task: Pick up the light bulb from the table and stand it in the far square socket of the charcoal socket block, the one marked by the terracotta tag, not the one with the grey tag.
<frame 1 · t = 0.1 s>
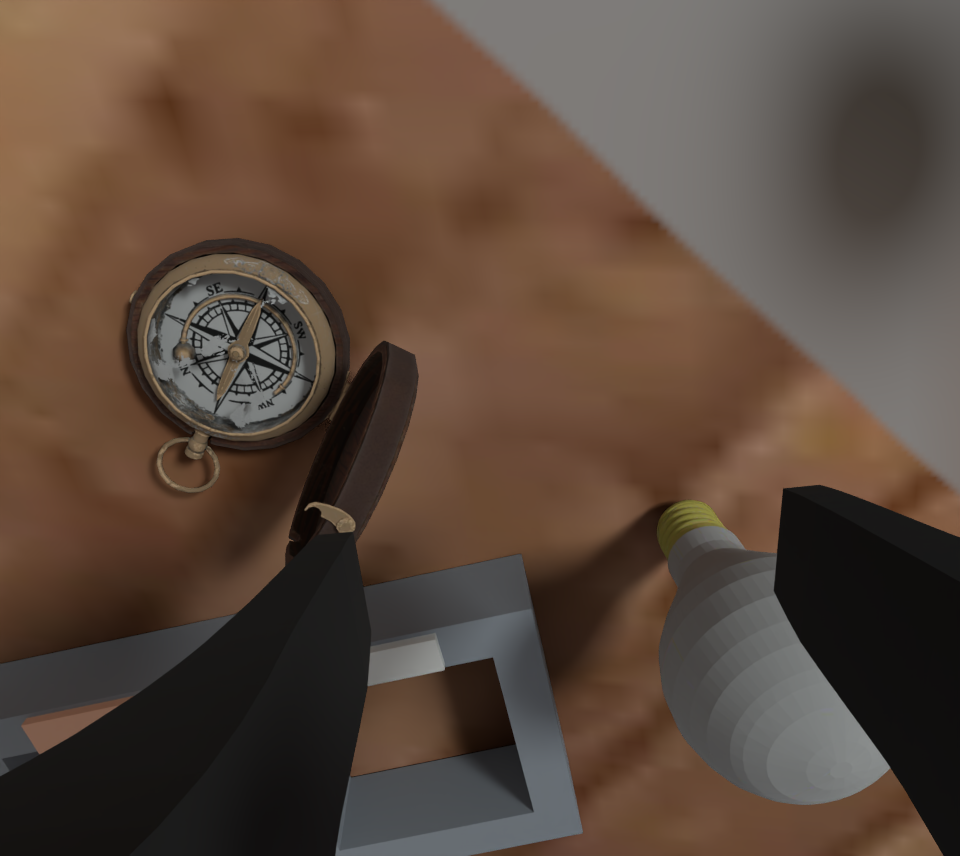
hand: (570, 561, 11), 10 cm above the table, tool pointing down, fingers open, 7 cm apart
light bulb: (678, 516, 23), on the table
compass: (261, 380, 21), on the table
socket block: (298, 717, 25), on the table
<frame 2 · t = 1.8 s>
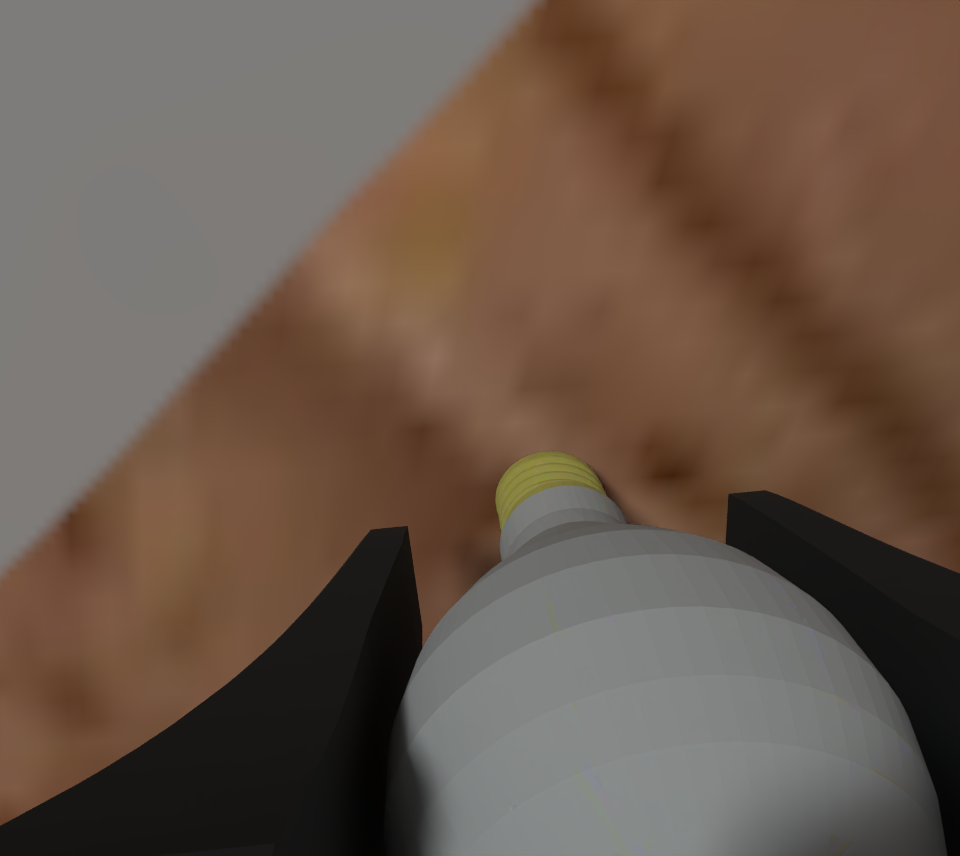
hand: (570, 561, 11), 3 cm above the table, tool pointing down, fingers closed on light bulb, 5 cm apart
light bulb: (544, 479, 14), on the table, touching gripper
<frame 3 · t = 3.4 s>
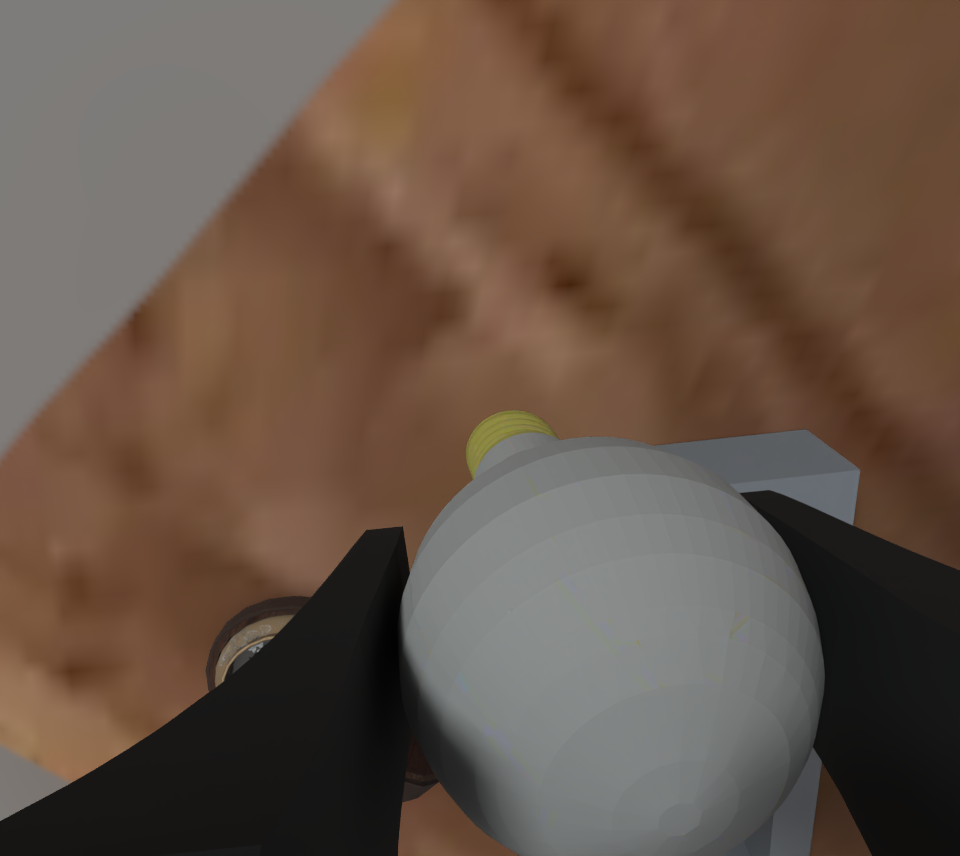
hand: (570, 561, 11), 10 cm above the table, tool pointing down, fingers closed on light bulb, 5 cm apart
light bulb: (507, 438, 16), point 5 cm above the table, touching gripper
compass: (337, 663, 24), on the table
socket block: (651, 678, 25), on the table
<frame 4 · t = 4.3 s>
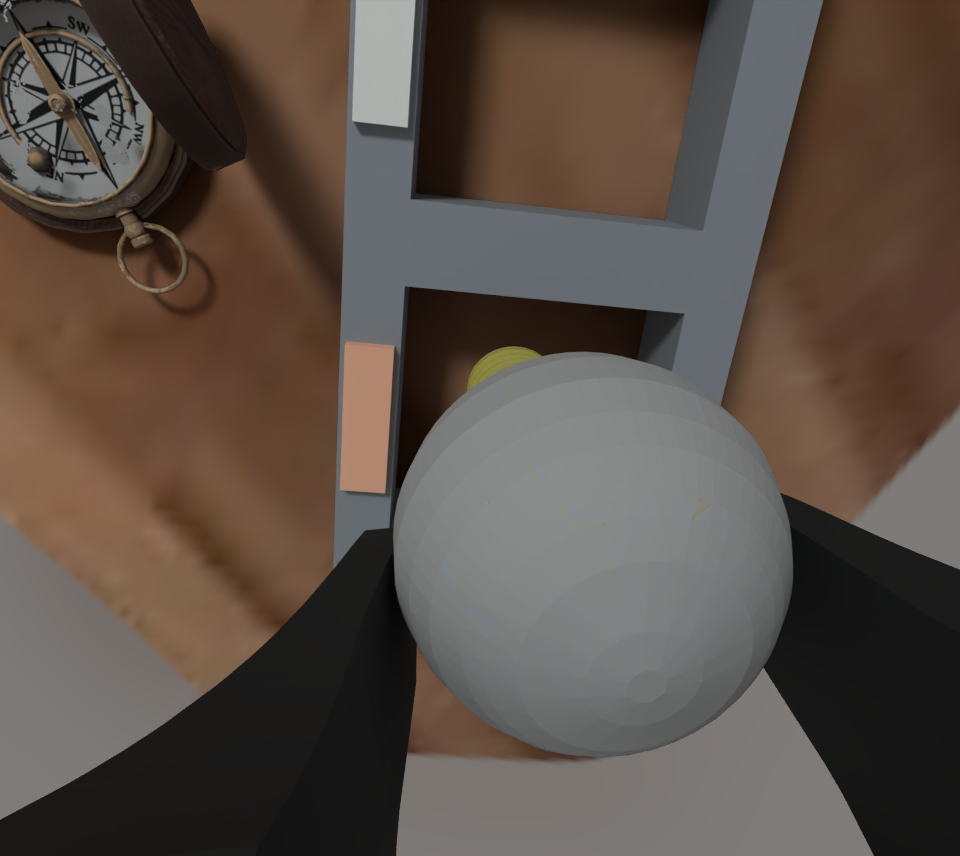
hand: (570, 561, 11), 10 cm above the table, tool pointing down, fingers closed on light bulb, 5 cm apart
light bulb: (508, 376, 16), point 4 cm above the table, touching gripper
compass: (130, 131, 18), on the table
socket block: (537, 243, 19), on the table
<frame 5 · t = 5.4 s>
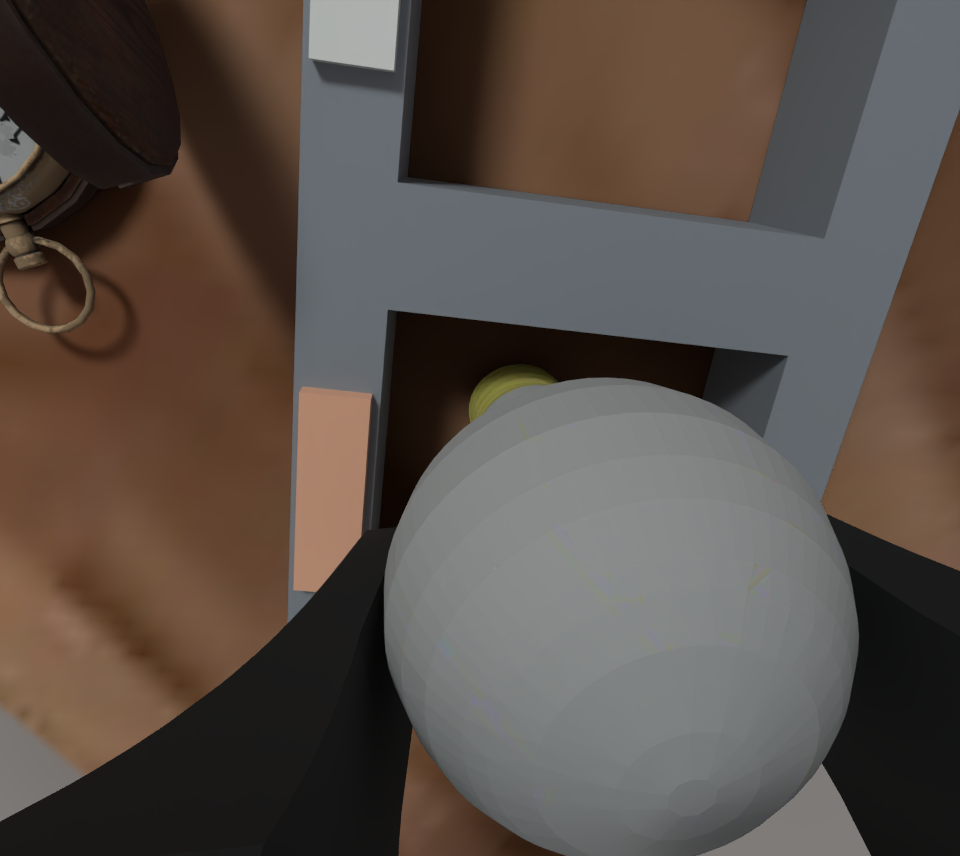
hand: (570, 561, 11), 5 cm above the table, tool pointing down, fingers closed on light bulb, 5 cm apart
light bulb: (513, 396, 15), resting in socket block, touching gripper
compass: (32, 108, 13), on the table
socket block: (573, 250, 14), on the table
when the fingers open (4 cm above the table, at t = 6.0 s): light bulb stays where it is, resting in socket block.
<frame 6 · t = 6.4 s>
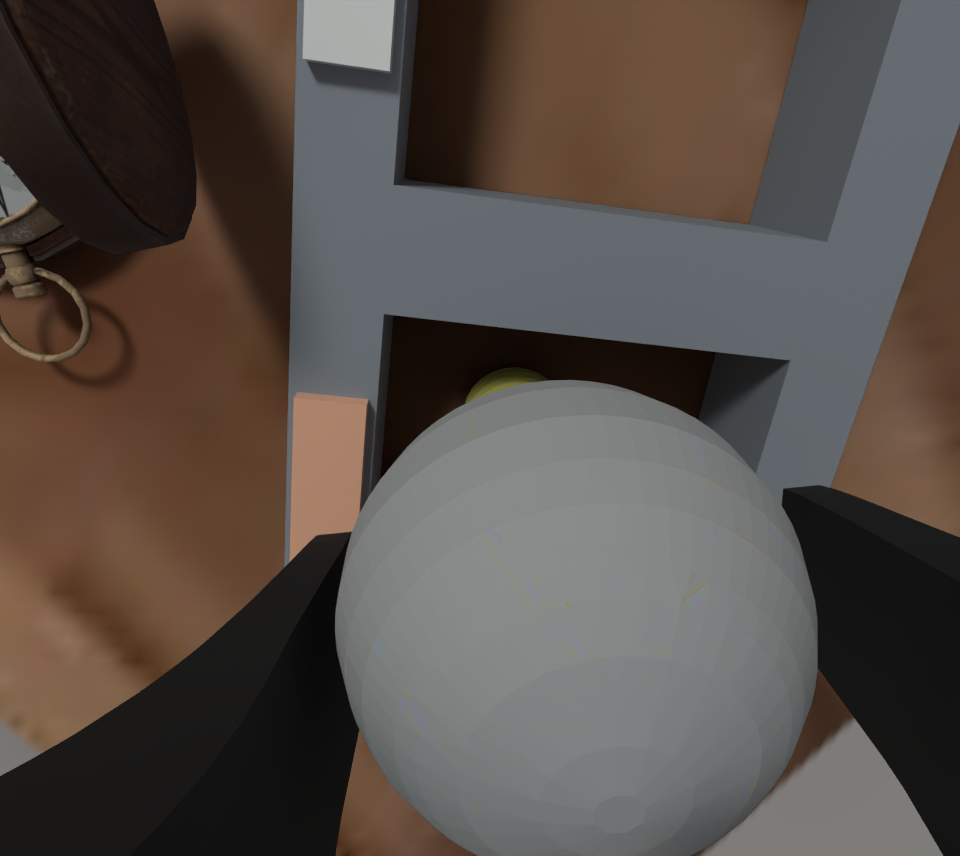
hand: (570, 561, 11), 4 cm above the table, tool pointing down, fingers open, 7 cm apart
light bulb: (512, 399, 15), resting in socket block
compass: (44, 139, 13), on the table
socket block: (572, 253, 14), on the table
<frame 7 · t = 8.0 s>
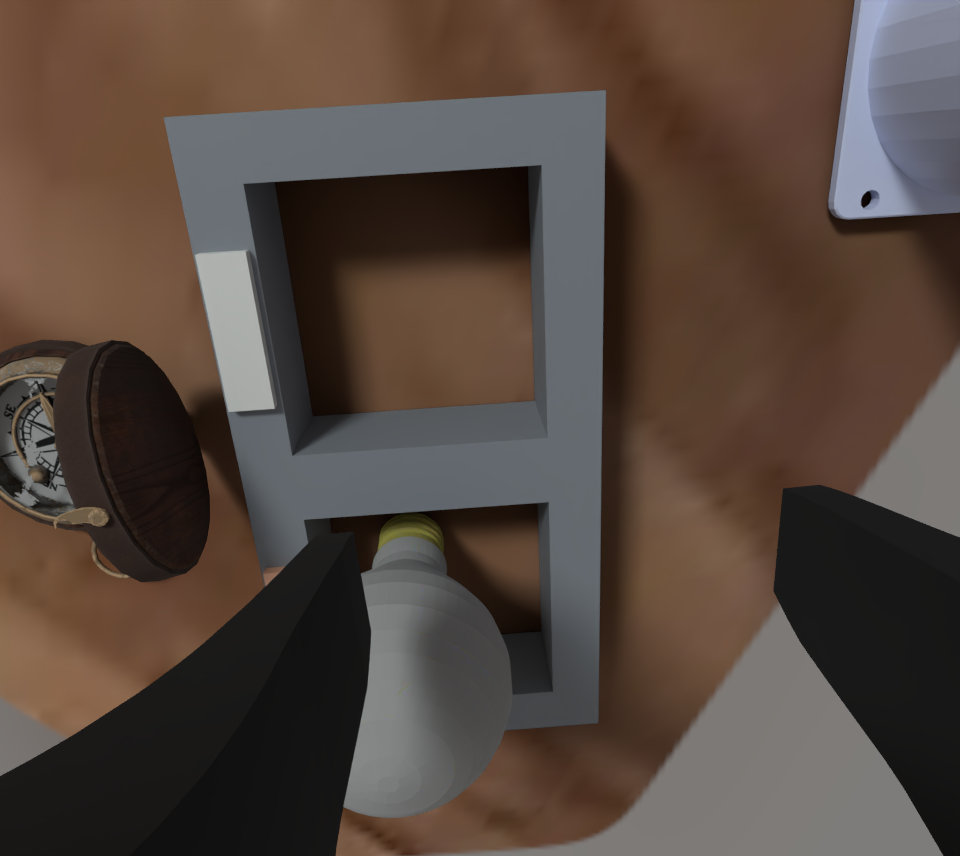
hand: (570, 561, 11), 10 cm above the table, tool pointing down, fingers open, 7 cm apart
light bulb: (413, 526, 23), resting in socket block
compass: (119, 451, 22), on the table
socket block: (426, 437, 22), on the table
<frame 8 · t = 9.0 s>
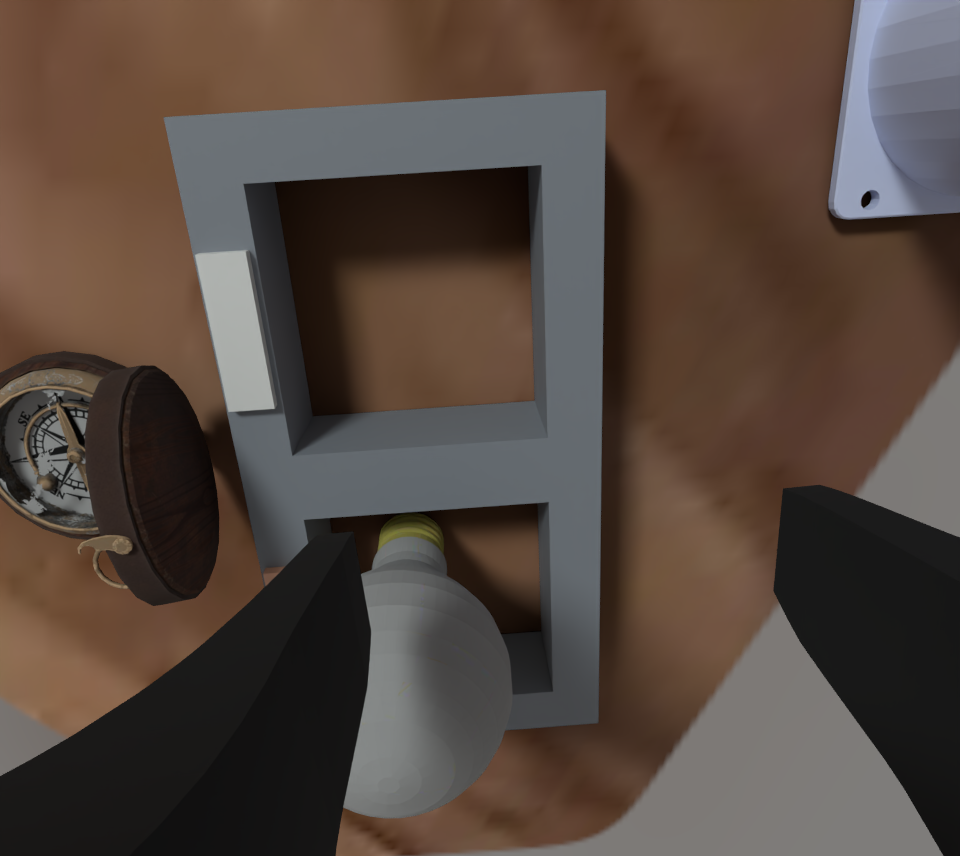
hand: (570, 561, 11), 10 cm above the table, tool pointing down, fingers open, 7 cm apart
light bulb: (413, 526, 23), resting in socket block
compass: (128, 463, 22), on the table
socket block: (426, 437, 22), on the table
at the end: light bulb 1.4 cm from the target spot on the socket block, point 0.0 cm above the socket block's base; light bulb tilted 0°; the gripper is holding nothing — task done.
